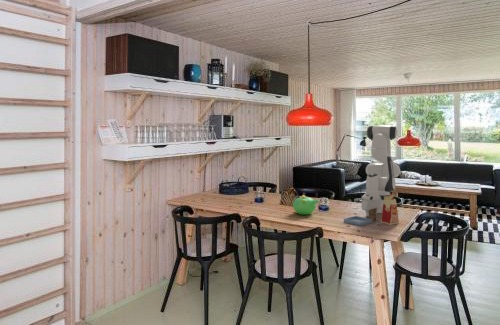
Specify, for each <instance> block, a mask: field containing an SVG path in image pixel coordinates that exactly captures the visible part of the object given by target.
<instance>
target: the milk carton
mask: <svg viewBox="0 0 500 325" xmlns="http://www.w3.org/2000/svg"><path fill="white" fill-rule="evenodd" d="M384 197H385V198H384V203H383V210H382V213H381V223H382V224H386V225H389V226H392V225H396V224H397V225H398V224H400V221H399V210H398V211H397V209H398V205H397V200H396V198H395V197H394V195H393V194H392V196H384Z"/></svg>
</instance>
